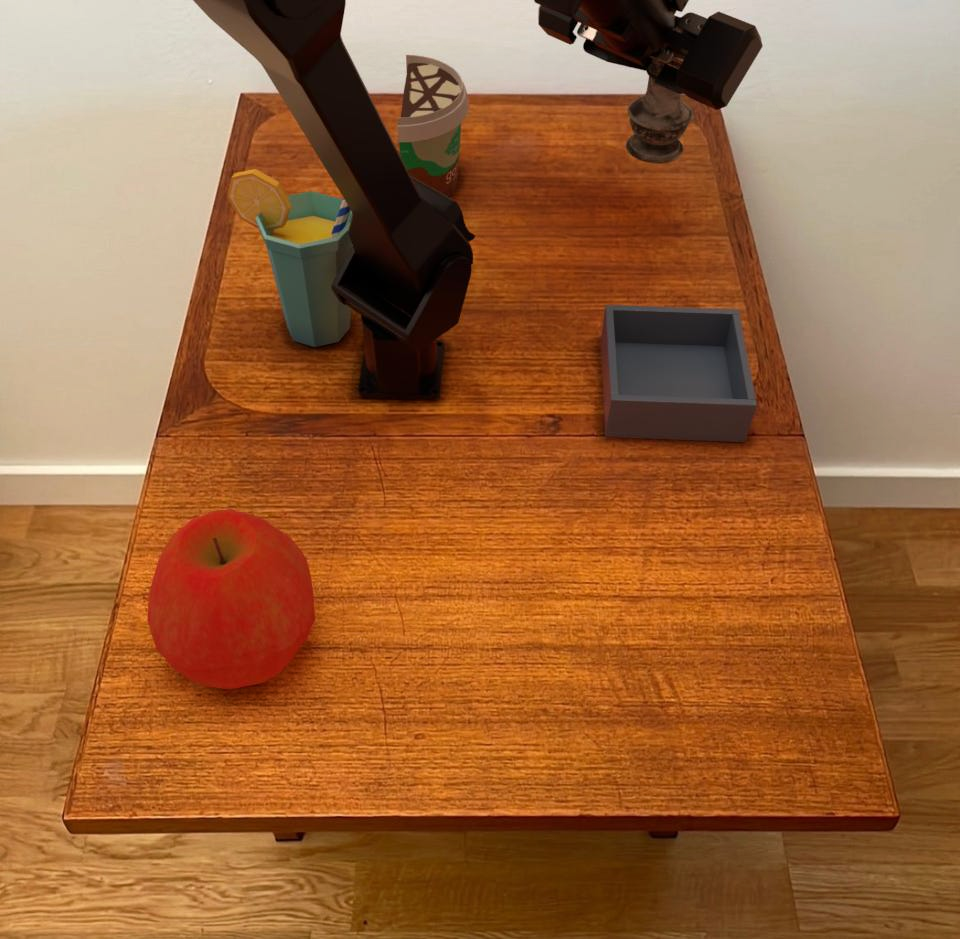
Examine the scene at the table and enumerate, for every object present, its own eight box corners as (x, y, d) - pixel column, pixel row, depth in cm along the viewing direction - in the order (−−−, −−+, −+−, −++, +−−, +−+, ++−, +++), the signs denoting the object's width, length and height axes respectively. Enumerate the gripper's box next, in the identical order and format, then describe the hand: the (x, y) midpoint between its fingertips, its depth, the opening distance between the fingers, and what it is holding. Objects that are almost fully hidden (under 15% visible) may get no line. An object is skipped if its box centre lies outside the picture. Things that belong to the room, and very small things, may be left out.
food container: (467, 219, 94) (467, 122, 86) (402, 218, 94) (396, 121, 86) (471, 147, 102) (471, 52, 94) (411, 146, 102) (406, 51, 94)
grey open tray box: (745, 442, 76) (757, 405, 73) (605, 437, 76) (611, 399, 73) (728, 347, 83) (739, 309, 80) (600, 342, 83) (605, 304, 80)
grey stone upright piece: (699, 153, 91) (726, 23, 82) (651, 172, 89) (673, 40, 80) (657, 124, 94) (679, -4, 85) (609, 142, 92) (626, 12, 83)
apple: (350, 659, 64) (333, 565, 56) (198, 737, 60) (156, 649, 52) (283, 547, 69) (259, 448, 61) (140, 613, 66) (95, 516, 58)
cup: (414, 300, 87) (410, 141, 76) (409, 359, 81) (404, 197, 70) (253, 296, 86) (225, 136, 75) (238, 355, 81) (206, 192, 70)
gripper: (780, -84, 68) (820, 24, 82) (571, -153, 76) (639, -44, 90) (692, 66, 70) (745, 147, 84) (498, -17, 78) (575, 69, 92)
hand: (675, 74), depth 87 cm, fingers closed on grey stone upright piece, 3 cm apart
